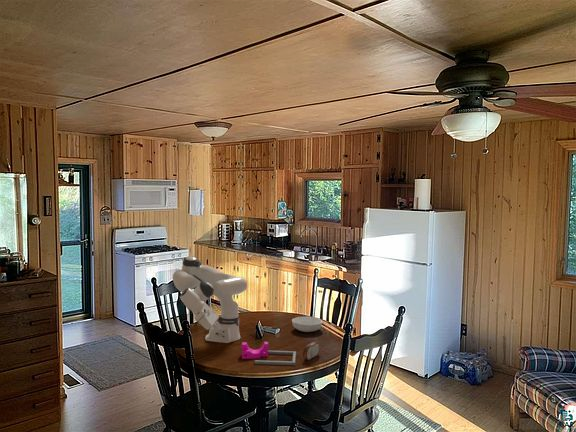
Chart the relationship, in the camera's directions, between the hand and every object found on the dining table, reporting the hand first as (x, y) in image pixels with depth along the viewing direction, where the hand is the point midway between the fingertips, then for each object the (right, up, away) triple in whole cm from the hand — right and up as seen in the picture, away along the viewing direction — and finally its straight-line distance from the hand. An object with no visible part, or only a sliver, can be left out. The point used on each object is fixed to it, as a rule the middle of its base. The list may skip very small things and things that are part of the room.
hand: (219, 329), depth 249 cm
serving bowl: (+52, -15, +52) cm, 75 cm away
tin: (+53, -17, +2) cm, 55 cm away
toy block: (+20, -17, +3) cm, 26 cm away
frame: (+32, -17, -1) cm, 36 cm away
